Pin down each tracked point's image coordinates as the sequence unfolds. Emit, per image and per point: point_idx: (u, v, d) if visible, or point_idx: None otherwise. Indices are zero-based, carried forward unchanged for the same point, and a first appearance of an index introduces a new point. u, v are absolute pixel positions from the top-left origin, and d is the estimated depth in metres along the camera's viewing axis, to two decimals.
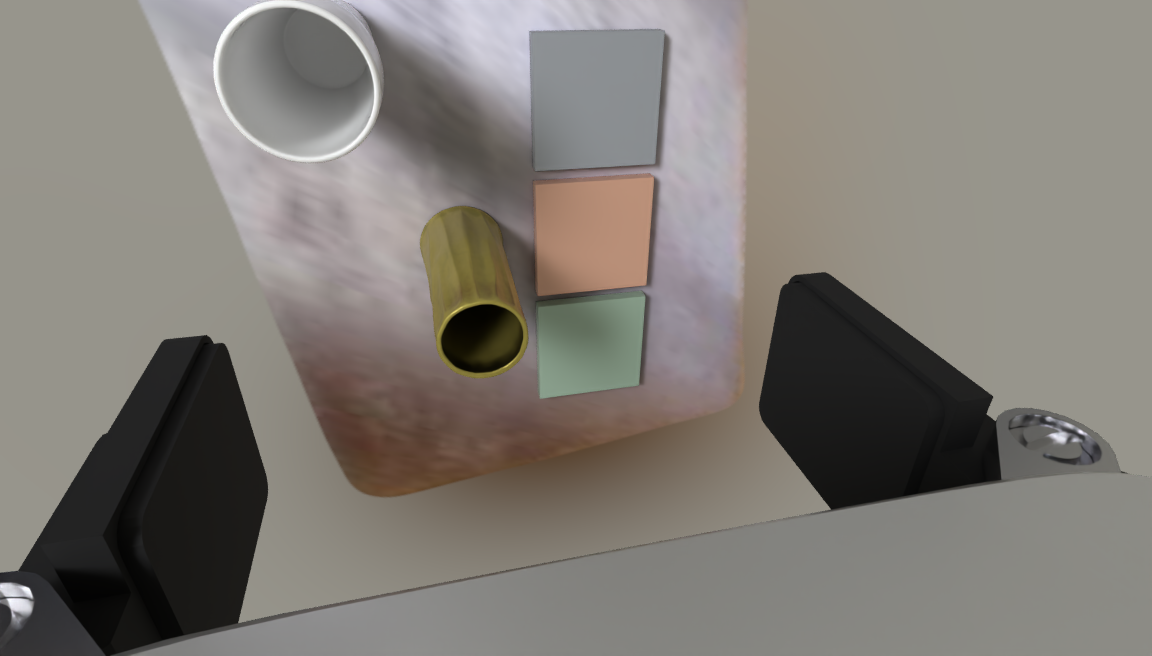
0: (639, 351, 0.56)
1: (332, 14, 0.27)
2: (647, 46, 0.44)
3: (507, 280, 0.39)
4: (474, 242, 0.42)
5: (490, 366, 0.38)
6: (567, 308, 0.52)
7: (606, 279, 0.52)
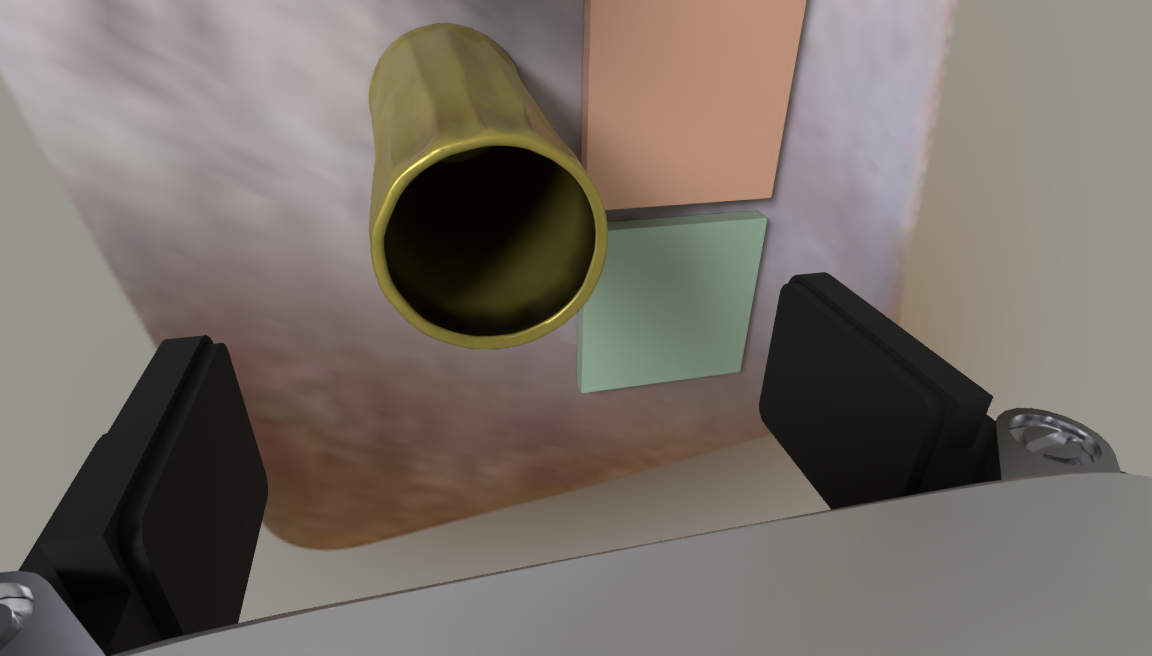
0: (747, 315, 0.34)
1: None
2: None
3: (549, 124, 0.17)
4: (472, 63, 0.20)
5: (510, 322, 0.16)
6: (635, 236, 0.30)
7: (706, 184, 0.29)
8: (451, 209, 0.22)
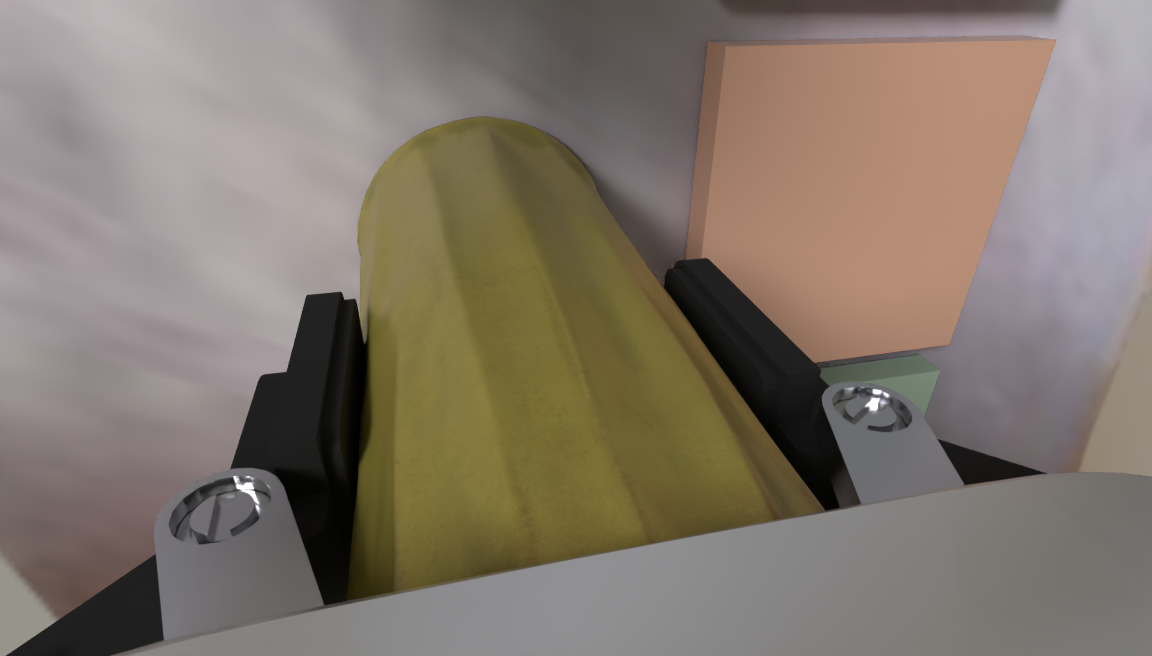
0: None
1: None
2: None
3: (759, 425, 0.07)
4: (551, 227, 0.10)
5: None
6: None
7: (862, 332, 0.20)
8: None
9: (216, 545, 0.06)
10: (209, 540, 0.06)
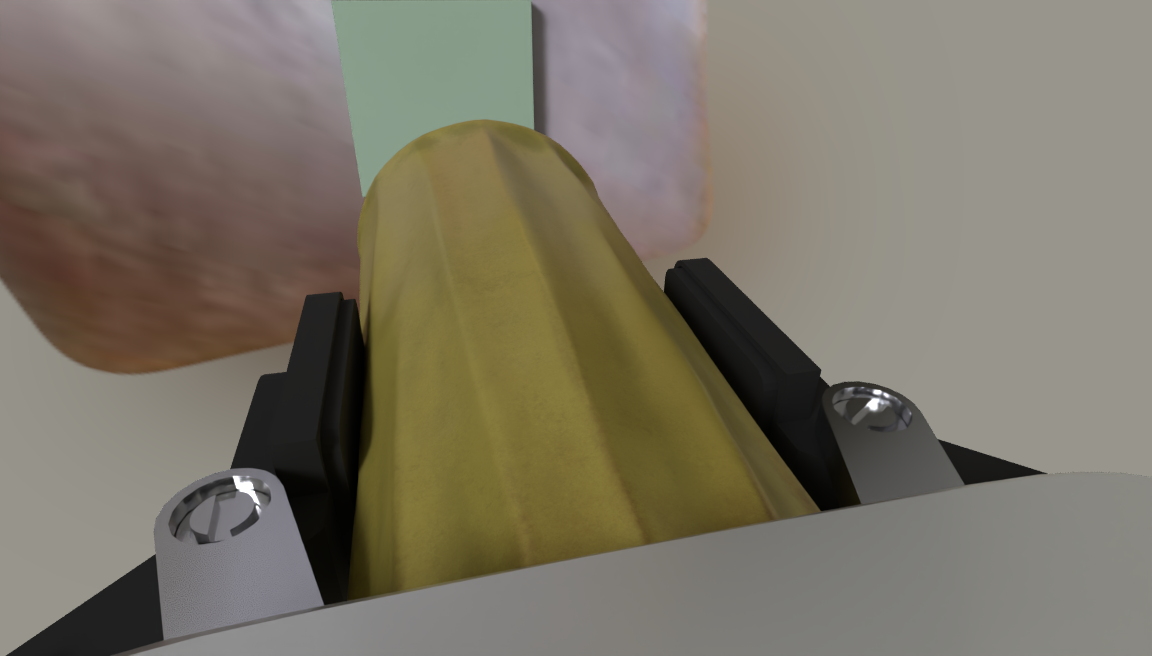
0: (530, 117, 0.33)
1: None
2: None
3: (758, 430, 0.07)
4: (551, 231, 0.10)
5: None
6: (388, 10, 0.29)
7: None
8: None
9: (216, 545, 0.06)
10: (209, 540, 0.06)
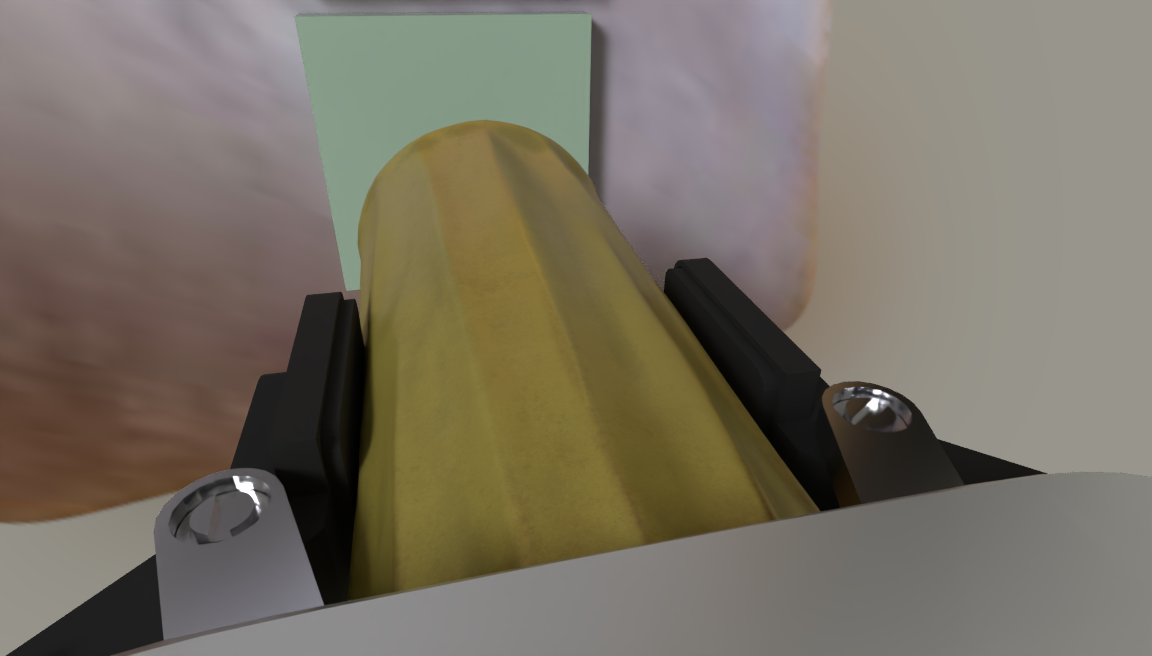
0: None
1: None
2: None
3: (759, 431, 0.07)
4: (551, 232, 0.10)
5: None
6: (381, 31, 0.20)
7: None
8: None
9: (216, 544, 0.06)
10: (209, 540, 0.06)
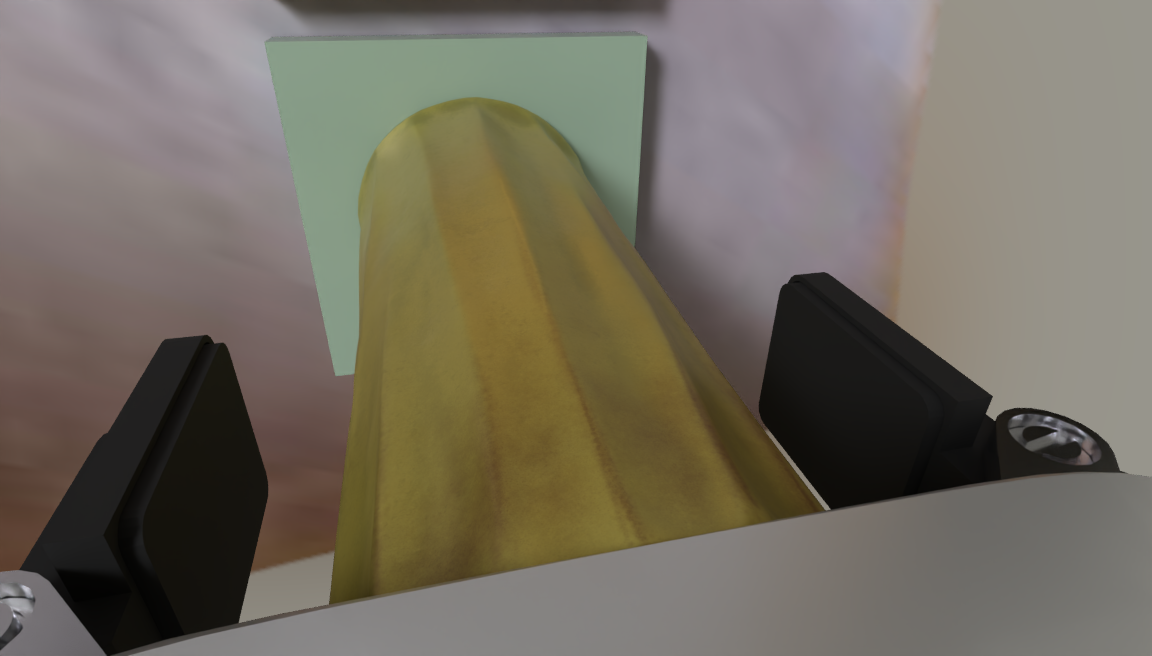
0: (629, 236, 0.19)
1: None
2: None
3: (701, 348, 0.08)
4: (530, 189, 0.11)
5: None
6: (379, 59, 0.15)
7: None
8: None
9: None
10: None
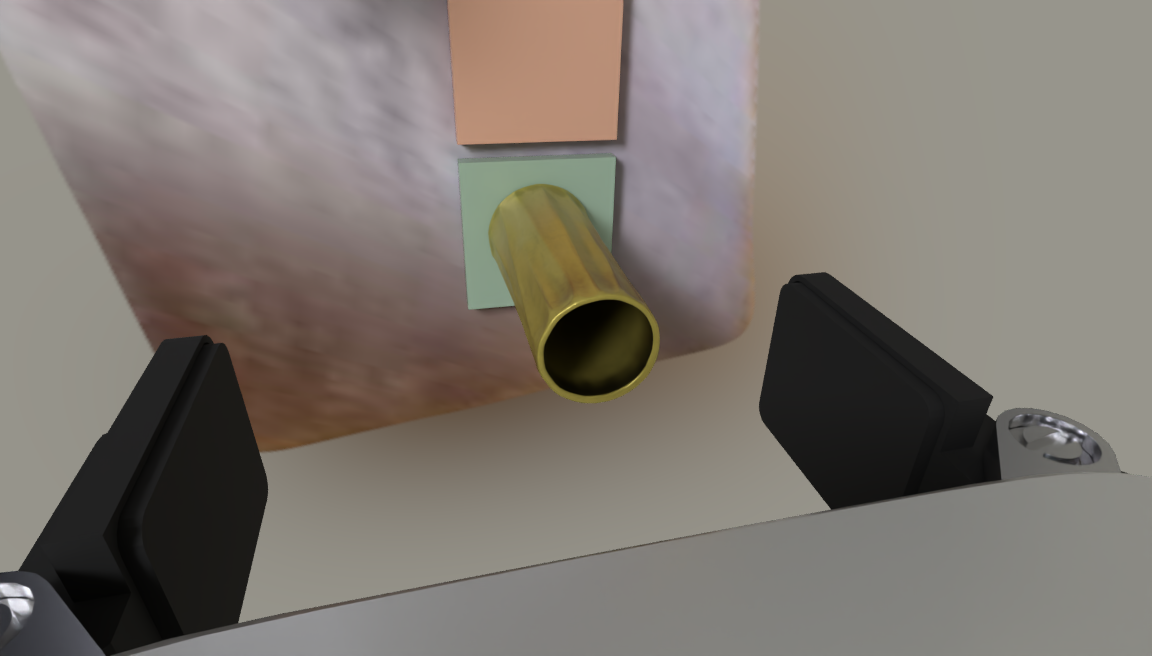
0: (609, 244, 0.40)
1: None
2: None
3: (622, 271, 0.29)
4: (569, 224, 0.32)
5: (602, 387, 0.28)
6: (502, 168, 0.36)
7: (558, 125, 0.36)
8: None
9: None
10: None
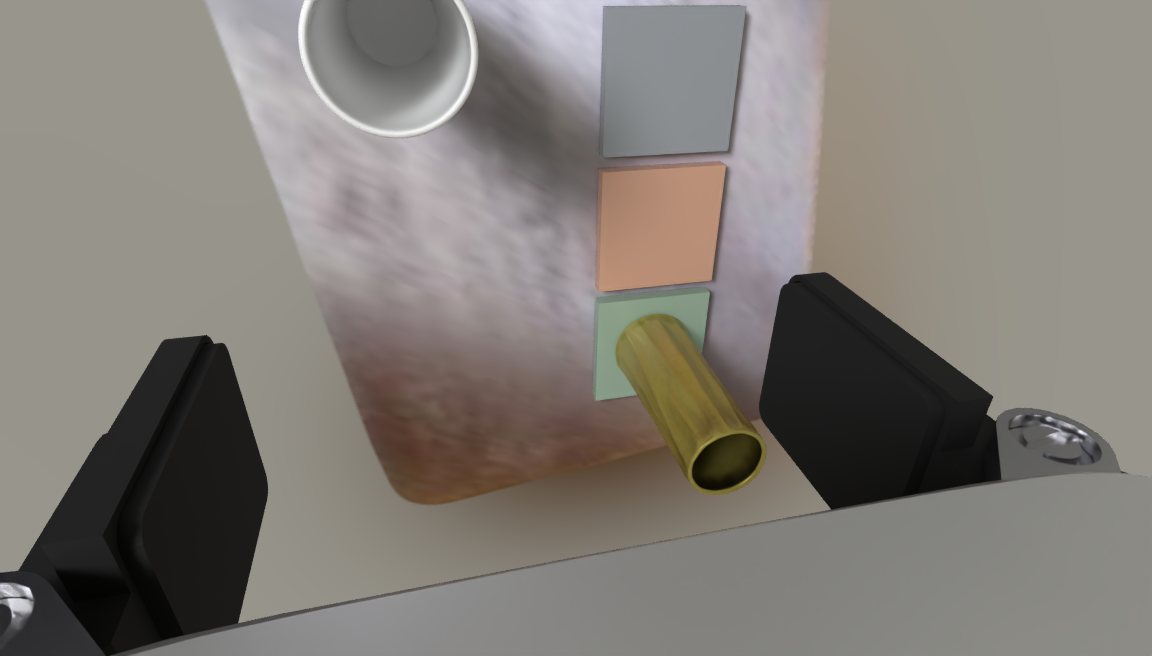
0: (700, 350, 0.53)
1: None
2: (727, 23, 0.41)
3: (733, 400, 0.43)
4: (688, 357, 0.46)
5: (724, 482, 0.42)
6: (629, 305, 0.49)
7: (670, 274, 0.49)
8: None
9: None
10: None
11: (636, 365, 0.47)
